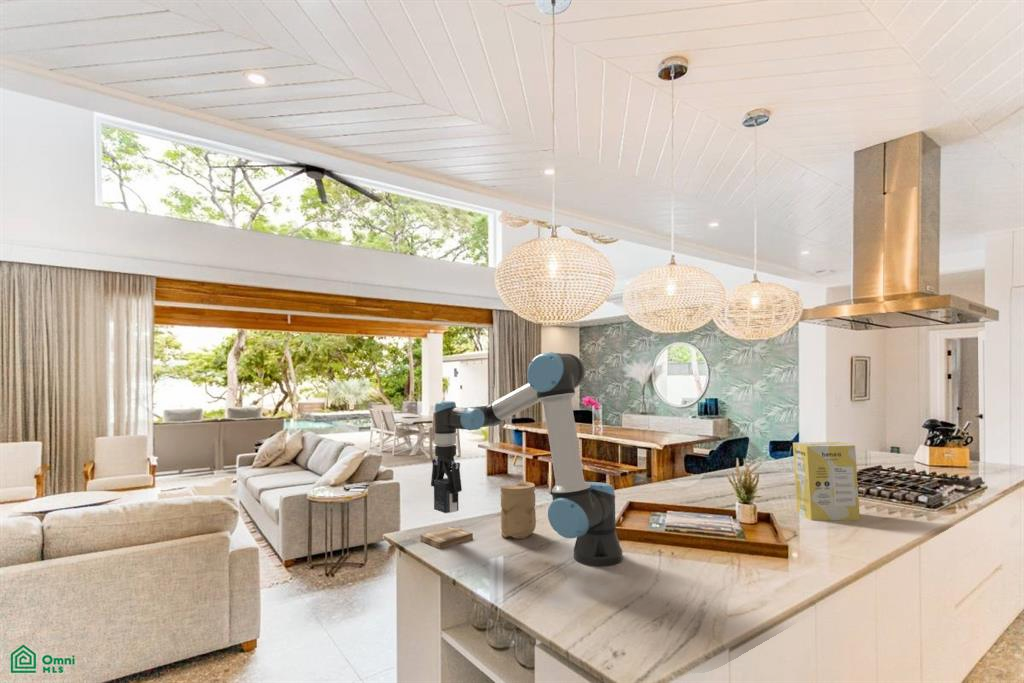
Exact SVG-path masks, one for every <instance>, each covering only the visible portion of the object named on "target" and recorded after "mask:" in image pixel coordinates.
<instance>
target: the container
mask: <svg viewBox="0 0 1024 683" xmlns="http://www.w3.org/2000/svg"><path fill="white" fill-rule="evenodd" d="M535 491H536V484H535V483H533V482H529V481H518V482H517V483H515V484H512V485H510V484H506V485H502V484H501V485H500V492H501V493H500V507H501V510H500V523H501V524H500V528H501V529H500V530H501V531H500V532H501V533H500V534H501V535H502V537H503V538H505V539H506V538H509V537H510V538H511V537H512V538H513V539H518V540H520V539H521V540H522V539H523V540H524V539H526V538H528V536H530V535H531V534H532V533H533V532H534V531H535V529H536V526H537V520H536V518H537V516H536V515H537V514H536V508H535V506H536V492H535Z"/></svg>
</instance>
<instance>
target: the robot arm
mask: <svg viewBox="0 0 1024 683" xmlns="http://www.w3.org/2000/svg"><path fill="white" fill-rule="evenodd" d="M526 376H527V378H526V379H527V382H528V383H526V384H523V385H522V386H520V387H519V388H516V389H515V390H513V391H511V392H508V394H505V395H504V396H502V397H499V398H498V399H496V400H495V401H493V402H491V403H489V404H487V405H482V406H471V407H470V406H469V407H457V405H456V401H449V400H447V401H438V402H437V401H436V403H435V404H434V407H435V408H434V444H435V446H434V455H435V457H437V458H434V459H432V460H431V463H432V469H431V471H432V472H431V479H430V480H431V481H430V485H431V487H433V488H434V480H436V479H437V480H438V479H443V478H445V475H446V478H448V482H449V486H450V490H451V492H450V493H449V496H450V513H455V512H458V511H457V501H458V502H459V493H460V492H462V491H463V490H462V479H461V472H460V471H461V470H460V467H461V463H460V462H455V456H457V445H456V443H457V433H456V432H457V430H466V431H478V430H480V429H481V428H487V427H495V426H499V425H501V424H502V423H503V422H504V421H505V420H506V419H508V418H511V417H512V416H514V415H516V414H518V413H520V412H522V411H524V410H526V409H528V408H530V407H532V406H534V405H536V404H538V403H542V405H543V409H544V410H543V411H544V417H545V423H546V429H547V436H548V442H549V447H550V448H549V449H550V455H551V462H552V468H553V475H554V482H555V485H554V486H553V488H552V489H551V497H552V501H551V503H550V505H549V506H548V508H547V519H548V522H549V524H550V526H551V528H552V530H553V531H555V532H556V533H557V534H558V535H559V536H561V537H563V538H565V539H566V538H567V539H575V538H576V539H575V540H576V541H575V544H574V547H573V558H574V560H575V561H577V562H579V563H581V564H584V565H588V566H594V567H596V566H597V567H606V566H607V567H608V566H614V565H617V564H619V563H620V562H622V561H623V557H624V556H623V549H622V547H621V544H620V540H619V537H618V534H617V527H616V525H617V524H616V494H615V487H614V486H613V485H612V484H609V483H605V482H597V481H586V480H585V477H584V471H583V466H582V465H583V464H582V459H581V452H580V446H579V440H578V436H577V435H578V433H577V427H576V420H575V416H574V410H573V409H574V408H573V403H572V402H573V401H572V399H574V397H575V395H576V390H575V389H576V388H578V387H579V386H580V385H581V384H582V383H583V382H584V379H585V376H586V369H585V365H584V363H583V361H582V360H581V359H580V357H578V356H576V355H574V354H572V353H557V352H552V351H551V352H544V353H543V352H542V353H540V354H537V355H536V356H535V357H534V358H532V360H531V362H530V363H529V364H528V367H527V373H526Z"/></svg>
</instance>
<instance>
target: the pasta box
mask: <svg viewBox="0 0 1024 683" xmlns="http://www.w3.org/2000/svg"><path fill="white" fill-rule="evenodd" d="M792 450H793V452H792V453H793V465H794V466H793V467H794V468H793V470H794V471H793V472H794V483H795V484H794V485H795V500H796V501H795V502H796V513H797V514H799V515H800V516H802V517H804V518H806V519H808V520H810V521H838V520H839V521H850V520H851V521H855V520H857V521H860V520H861V518H860V517H861V514H860V502H859V501H860V499H859V483H858V472H857V471H858V470H857V469H858V468H857V456H856V445H854V444H849V443H845V442H841V441H823V442H821V441H818V442H817V441H814V442H813V441H812V442H792Z"/></svg>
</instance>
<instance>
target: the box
mask: <svg viewBox="0 0 1024 683" xmlns="http://www.w3.org/2000/svg"><path fill="white" fill-rule="evenodd" d="M450 492H451V490H450V486H449V482H448V478H447V477H446V478H445V477H444V478H443V479H438V480H437V479H436V480H434V487H433V510H436V511H438V512H440V513H443V514H449V513H450V496H449V493H450ZM458 511H459V500H458V501H457V511H456V512H458Z"/></svg>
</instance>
